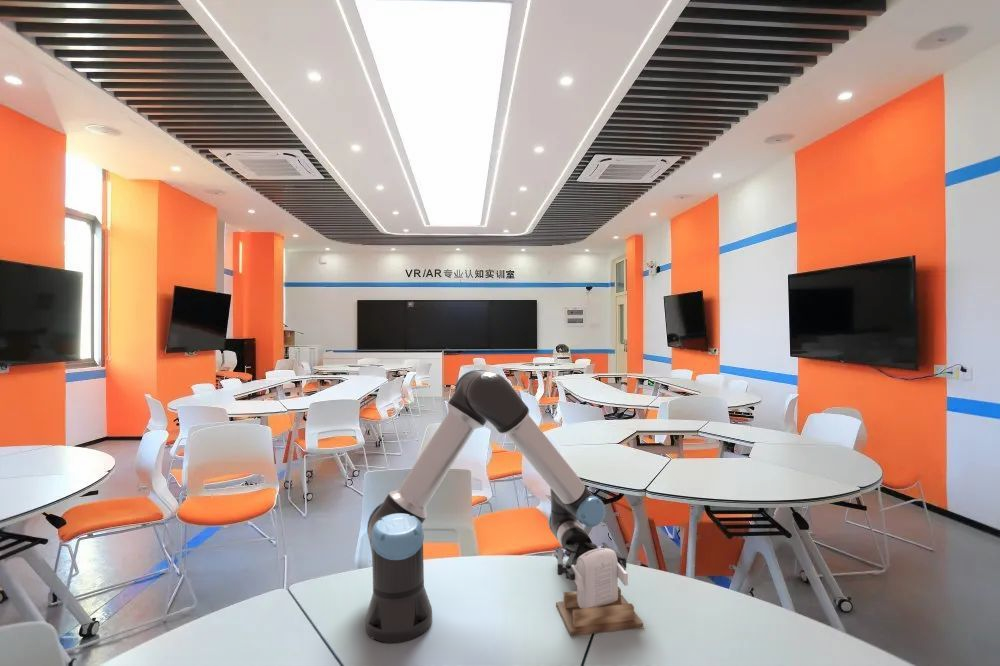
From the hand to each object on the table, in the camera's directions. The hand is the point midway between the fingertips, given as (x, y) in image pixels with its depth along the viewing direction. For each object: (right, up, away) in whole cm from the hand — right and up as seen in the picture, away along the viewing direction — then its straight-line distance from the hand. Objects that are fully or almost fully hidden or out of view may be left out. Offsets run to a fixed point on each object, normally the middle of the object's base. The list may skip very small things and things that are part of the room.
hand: (603, 581), depth 110 cm
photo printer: (-1, -7, +4) cm, 8 cm away
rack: (0, -10, +4) cm, 11 cm away
